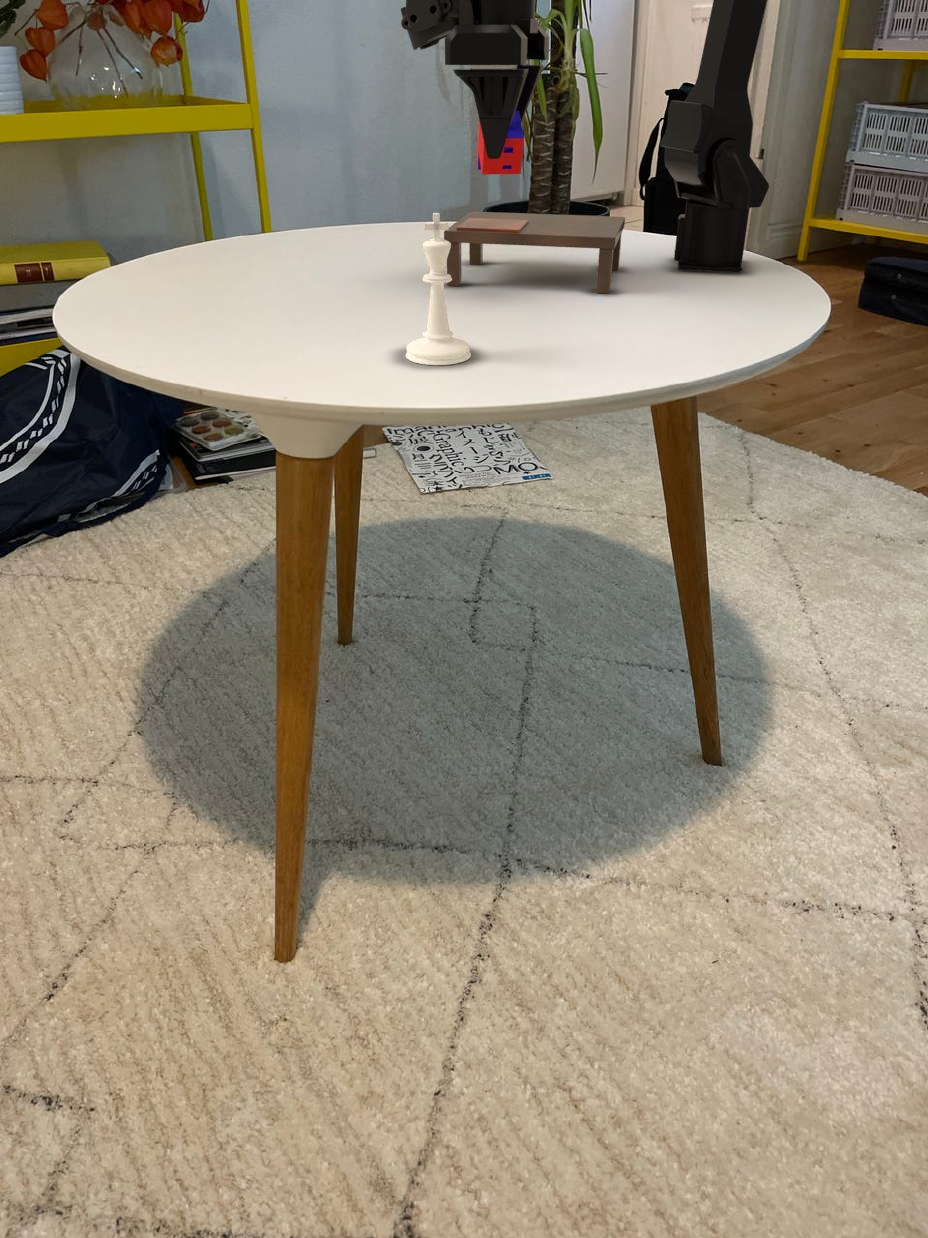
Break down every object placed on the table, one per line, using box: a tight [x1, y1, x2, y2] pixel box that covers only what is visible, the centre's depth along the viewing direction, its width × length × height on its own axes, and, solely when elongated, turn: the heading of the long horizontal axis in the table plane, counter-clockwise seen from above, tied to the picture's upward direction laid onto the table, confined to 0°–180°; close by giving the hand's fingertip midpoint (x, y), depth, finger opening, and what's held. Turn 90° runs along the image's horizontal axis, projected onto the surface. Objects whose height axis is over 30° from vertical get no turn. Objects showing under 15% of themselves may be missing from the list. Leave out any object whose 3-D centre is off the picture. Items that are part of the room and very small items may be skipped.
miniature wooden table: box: [443, 211, 626, 295], centre depth 95 cm, size 16×12×5 cm
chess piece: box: [405, 212, 472, 366], centre depth 70 cm, size 5×5×10 cm
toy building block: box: [476, 110, 525, 176], centre depth 87 cm, size 4×4×8 cm
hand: (499, 154), depth 88 cm, fingers closed on toy building block, 6 cm apart
